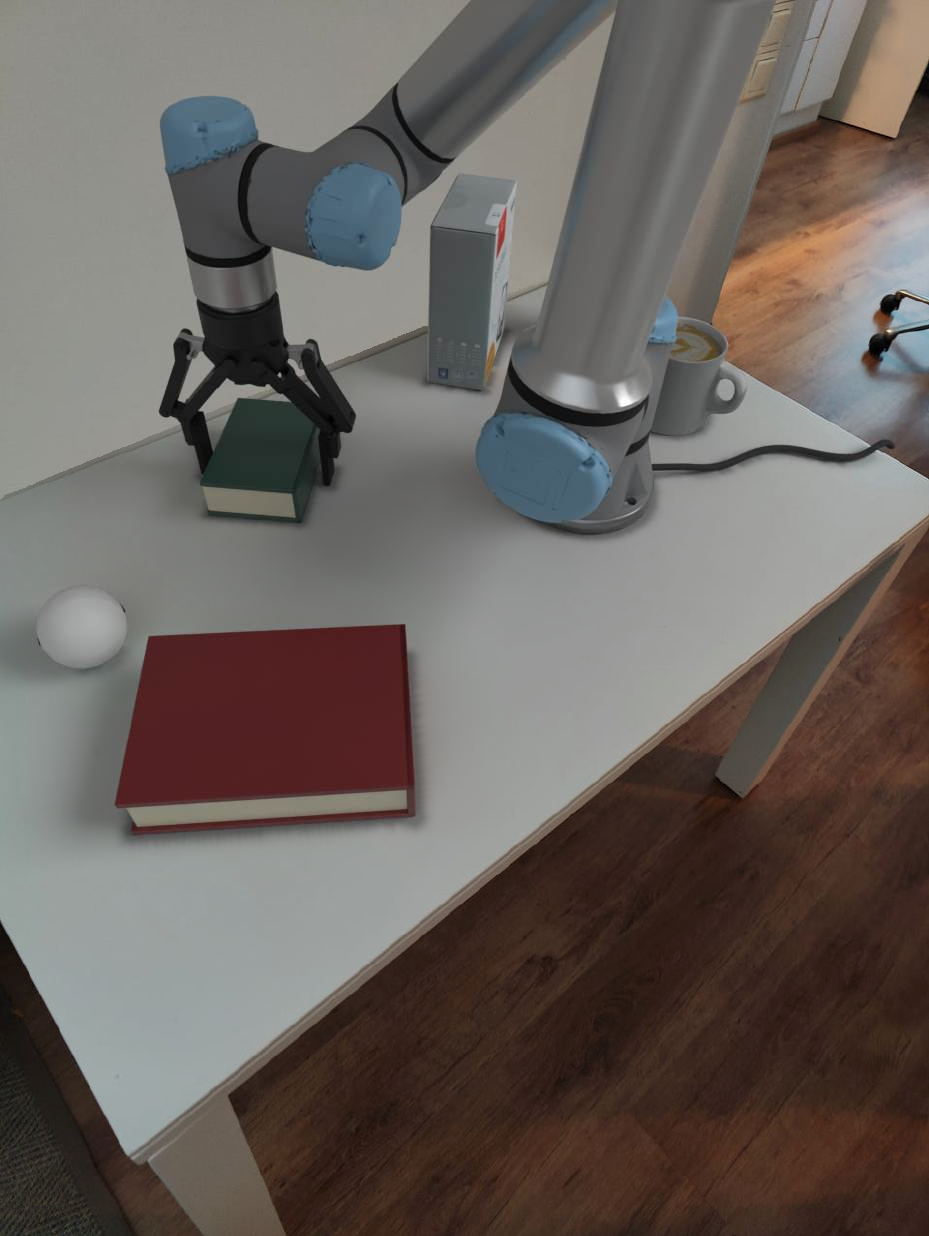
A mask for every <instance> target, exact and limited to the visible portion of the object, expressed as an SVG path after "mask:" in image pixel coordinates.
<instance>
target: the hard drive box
mask: <svg viewBox="0 0 929 1236" xmlns="http://www.w3.org/2000/svg"><path fill="white" fill-rule="evenodd" d="M517 187H518V180H515V179H508V178H502V177H492V176H485V175H476V174H468V173H462V172H461V173H460V172H459V173H458V174H457V175H456V177H455V179H454V180H453V183H452V184H451V186H450V188H449V190H448V193H447V194H446V195H445V198H444V200H443V201H442V203H441V205H440V207H439V208H438V209H437V212H436V214H435V216H434V218H433V220H432V222H431V224H430V228H429V229H430V230H429V231H430V232H429V269H428V270H429V274H428V315H427V316H428V318H427V357H426V359H427V362H426V365H427V366H426V381H427V382H429V383H434V384H438V385H439V384H440V385H447V386H453V387H460V388H467V389H472V390H479V391H484V390H485V388H486V385H487V382H488V379H489V377H490V373H491V371H492V368H493V364H494V361H495V359H496V356H497V352H498V350H499V347H500V343H501V341H502V337H503V335H504V332H505V323H506V313H507V301H508V289H509V279H510V278H509V276H510V266H511V252H512V243H513V230H514V221H515V220H514V218H515V208H516V207H515V206H516V199H517V198H516V196H517Z"/></svg>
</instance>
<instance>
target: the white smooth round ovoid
mask: <svg viewBox="0 0 929 1236" xmlns="http://www.w3.org/2000/svg"><path fill="white" fill-rule="evenodd" d="M25 603H28V601H27V600H25ZM29 603H30V604H34V605H40V606H41V607H40V610H39V611H38V615H37V619H36V625H35V632H36V636H37V643H38V645H39V647H41V649H42V650H43V651H44V652H45V653H46V654H47V656H49V657H50V658H51V659H52V660H53V661H54V662H56V663H58V664H61V665H64V666H66V667H69V668H71V669H78V670H79V669H81V670H84V669H91V668H96V667H98V666H100V665H103V664H106V663H107V662H108V661H110V660H111V659H113V658H114V657H116V655H117V654H118V653H119V652H120V650H121V649H122V648H123V645H124V643H125V640H126V638H127V635H128V621H127V615H126V610H125V607H124V606H123V605H122V604H121V603H120V602H118V600H117V599H116V598H115V597H114V596H113V595H111V593H109V592H106V591H105V590H103V589H100V588H99V587H95V586H90V585H89V586H88V585H77V586H69V587H67V588H64V589H61V590H59V591H57V592H56V593H54V594H53V595H52V596H50V597H49V598H48V599H47V600H46V601H45V602H44V603H43V604H40V603H36V602H32V601H29Z"/></svg>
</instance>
